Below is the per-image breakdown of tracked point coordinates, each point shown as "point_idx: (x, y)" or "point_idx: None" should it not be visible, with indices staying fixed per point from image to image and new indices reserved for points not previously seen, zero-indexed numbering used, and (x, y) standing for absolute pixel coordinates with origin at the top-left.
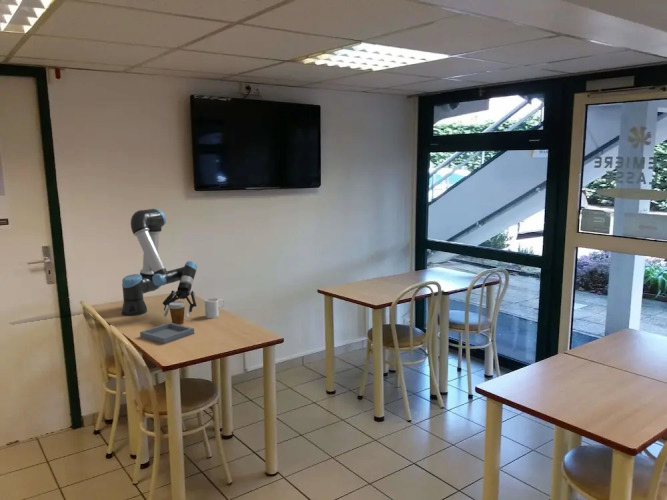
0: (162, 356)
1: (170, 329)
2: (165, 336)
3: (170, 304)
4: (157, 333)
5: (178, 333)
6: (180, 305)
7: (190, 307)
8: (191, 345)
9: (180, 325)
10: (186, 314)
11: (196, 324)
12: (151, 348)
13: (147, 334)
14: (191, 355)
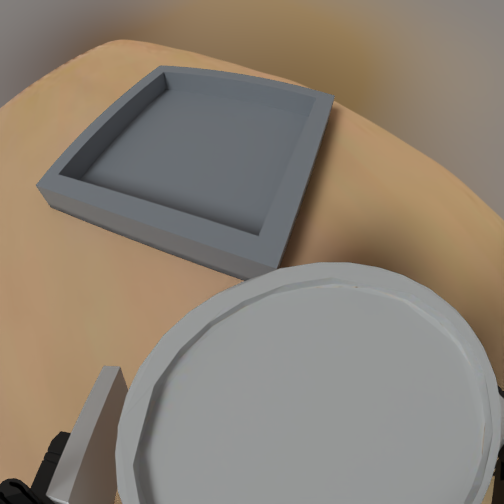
0: (137, 49)
1: (226, 220)
2: (192, 123)
3: (454, 357)
4: (269, 147)
5: (110, 108)
6: (153, 352)
7: (51, 477)
8: (60, 107)
9: (133, 212)
10: (108, 374)
11: (80, 409)
12: (196, 62)
13: (273, 82)
14: (62, 74)
